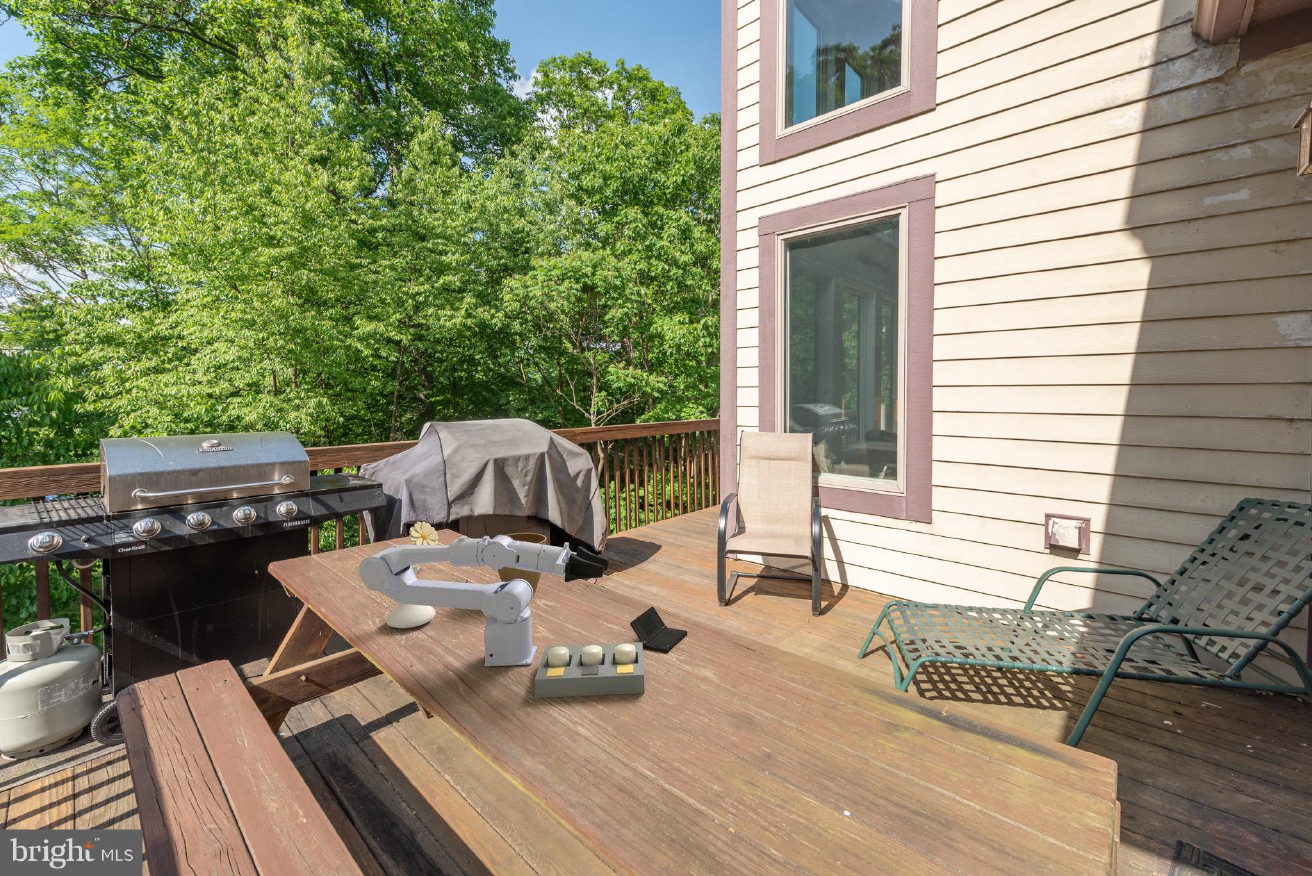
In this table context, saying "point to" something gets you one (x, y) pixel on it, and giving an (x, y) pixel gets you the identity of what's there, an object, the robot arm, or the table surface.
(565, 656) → the button left
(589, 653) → the button middle
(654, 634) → the handheld gaming console
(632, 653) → the button right
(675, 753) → the table surface
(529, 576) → the plant pot
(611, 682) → the button board
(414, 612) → the flower in vase
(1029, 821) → the table surface
